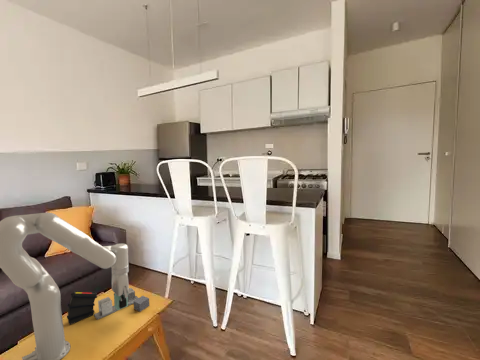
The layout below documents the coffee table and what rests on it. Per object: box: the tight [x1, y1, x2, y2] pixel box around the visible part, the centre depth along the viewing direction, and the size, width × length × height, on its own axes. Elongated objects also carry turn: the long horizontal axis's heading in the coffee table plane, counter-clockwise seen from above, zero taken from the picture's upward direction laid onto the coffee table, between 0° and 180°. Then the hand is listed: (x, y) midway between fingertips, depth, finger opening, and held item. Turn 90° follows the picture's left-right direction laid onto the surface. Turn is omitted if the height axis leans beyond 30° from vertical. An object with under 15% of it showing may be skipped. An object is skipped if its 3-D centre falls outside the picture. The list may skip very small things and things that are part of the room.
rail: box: [93, 287, 139, 321], centre depth 137 cm, size 22×5×7 cm, turn 136°
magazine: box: [66, 290, 98, 326], centre depth 129 cm, size 4×13×15 cm, turn 135°
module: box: [113, 292, 129, 311], centre depth 126 cm, size 5×4×7 cm
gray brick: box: [133, 295, 150, 313], centre depth 137 cm, size 6×5×4 cm
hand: (121, 304), depth 126 cm, fingers closed on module, 4 cm apart
